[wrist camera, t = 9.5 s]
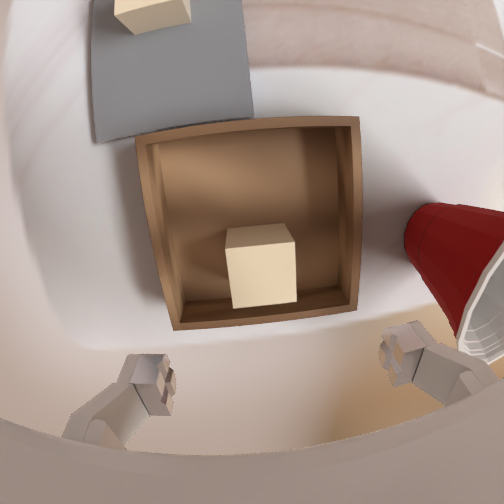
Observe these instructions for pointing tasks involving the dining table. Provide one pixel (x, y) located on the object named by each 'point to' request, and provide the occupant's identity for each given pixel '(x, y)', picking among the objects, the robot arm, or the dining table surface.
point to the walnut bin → (254, 212)
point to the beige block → (261, 265)
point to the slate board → (169, 71)
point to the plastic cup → (463, 271)
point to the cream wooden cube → (152, 14)
